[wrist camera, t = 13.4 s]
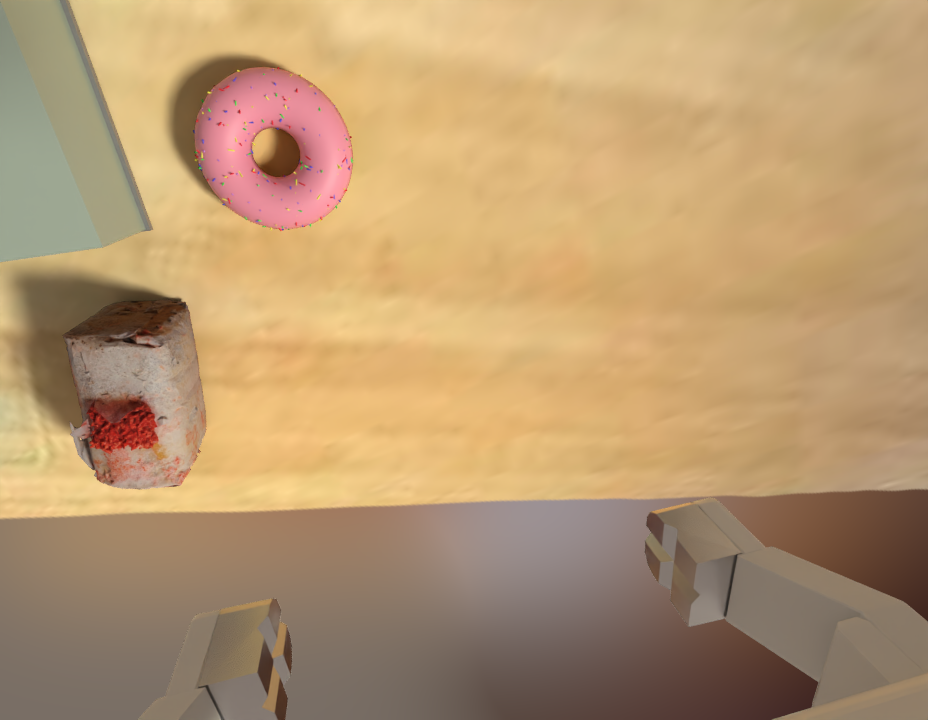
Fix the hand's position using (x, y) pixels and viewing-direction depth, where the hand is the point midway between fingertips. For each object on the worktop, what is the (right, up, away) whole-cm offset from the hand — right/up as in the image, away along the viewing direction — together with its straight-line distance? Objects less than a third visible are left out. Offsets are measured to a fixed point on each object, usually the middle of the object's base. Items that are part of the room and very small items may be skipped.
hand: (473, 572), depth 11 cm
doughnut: (-14, +21, +28) cm, 37 cm away
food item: (-26, +3, +32) cm, 42 cm away
